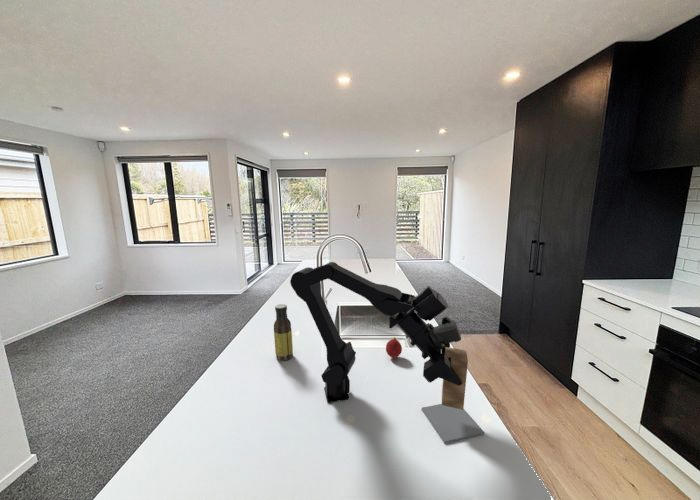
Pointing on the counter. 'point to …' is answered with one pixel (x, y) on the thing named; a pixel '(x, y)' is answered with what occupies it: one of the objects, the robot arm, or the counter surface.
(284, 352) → the sauce bottle
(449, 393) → the block
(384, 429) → the counter surface
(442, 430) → the coaster
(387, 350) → the onion
